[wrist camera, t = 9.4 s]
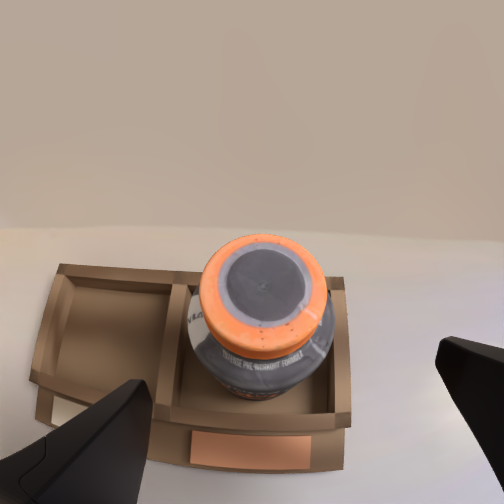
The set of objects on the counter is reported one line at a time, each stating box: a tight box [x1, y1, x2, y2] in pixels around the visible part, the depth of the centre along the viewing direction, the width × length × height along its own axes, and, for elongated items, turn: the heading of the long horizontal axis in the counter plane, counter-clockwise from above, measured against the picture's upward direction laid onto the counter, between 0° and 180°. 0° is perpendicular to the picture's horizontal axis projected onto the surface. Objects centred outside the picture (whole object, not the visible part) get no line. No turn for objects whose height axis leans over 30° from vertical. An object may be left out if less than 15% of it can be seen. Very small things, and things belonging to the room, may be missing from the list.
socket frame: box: [29, 264, 351, 474], centre depth 17 cm, size 13×22×2 cm, turn 87°
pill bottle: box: [188, 234, 335, 401], centre depth 13 cm, size 6×6×11 cm
